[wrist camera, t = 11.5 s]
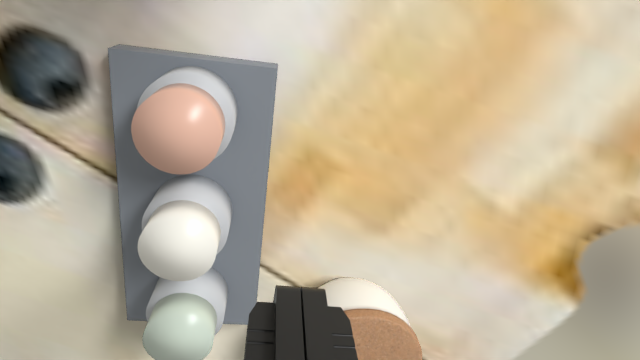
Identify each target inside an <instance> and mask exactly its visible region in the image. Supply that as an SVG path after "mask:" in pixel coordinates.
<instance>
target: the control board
mask: <svg viewBox="0 0 640 360" xmlns="http://www.w3.org/2000/svg"><path fill="white" fill-rule="evenodd" d="M108 55H109V69H110V83H111V97H112V111H113V125H114V139H115V153H116V167H117V181H118V195H119V209H120V223H121V237H122V251H123V265H124V279H125V293H126V307H127V320H136V321H147V322H148V321H149V318H150V316H151V313H152V311H153V308H154V306H155V305H156V304H157V303H158V301H160V300H161V299H162V298H164V297H166V296H168V295H171V294H176V293H190V294H195V295H198V296H200V297H202V298H204V299H206V300H207V301H208V302H209V303H210V304H211V305H212V306H213V307H214V309H215V311H216V314H217V324H216V329H215V334H216V333H217V332H218V331H219V330H220V328H221V327H222V324H246V325H248V319H249V313H250V312H251V311H252V309H253V308H254V306H255V305H256V301H257V290H258V279H259V268H260V257H261V246H262V235H263V223H264V212H265V201H266V190H267V179H268V168H269V157H270V146H271V135H272V124H273V113H274V102H275V90H276V79H277V67H278V64H275V63H266V62H258V61H250V60H242V59H234V58H226V57H217V56H209V55H201V54H193V53H185V52H177V51H168V50H160V49H152V48H144V47H136V46H128V45H116V46H113V47H110V48H108ZM176 83H185V84H191V85H194V86H197V87H199V88H201V89H203V90H205V91H206V92H208V93H209V94H210V95H211V96H212V97H213V98H214V99H215V100H216V101H217V102H218V104H219V105H220V107H221V109H222V111H223V114H224V118H225V133H224V137H223V139H222V142H221V145H220V147H219V150H218V152H217V154H216V156H215V158H214V159H213V160H212V162H211V163H210V164H209V165H207V166H206V167H205V168H203V169H201V170H199V171H197V172H194V173H190V174H183V175H181V174H171V173H167V172H164V171H161V170H159V169H157V168H155V167H154V166H152V165H151V164H149V163H148V162H147V161H146V160H145V159H144V158H143V157H142V156H141V155H140V153H139V152H138V150H137V149H136V147H135V144H134V142H133V138H132V133H131V124H132V119H133V116H134V114H135V112H136V110H137V109H138V107H139V106H140V105H141V104H142V103H143V102H144V101H145V100H146V99H147V98H149V97H150V96H151V95H152V94H153V93H155V92H156V91H157V90H159V89H160V88H162V87H164V86H167V85H170V84H176ZM175 200H188V201H193V202H196V203H199V204H201V205H203V206H205V207H206V208H208V209H209V210H210V211H211V212H212V213H213V214H214V215H215V217H216V218H217V220H218V222H219V225H220V229H221V236H220V241H219V245H218V249H217V254H216V258H215V261H214V263H213V265H212V267H211V268H210V269H209V270H208V271H207V272H206V273H205V274H203V275H202V276H200V277H198V278H196V279H193V280H189V281H171V280H167V279H164V278H161V277H159V276H157V275H155V274H154V273H152V272H151V271H150V270H148V269H147V268H146V267H145V265H144V264H143V263H142V261H141V259H140V257H139V254H138V240H139V237H140V235H141V233H142V231H143V230H144V228H145V226H146V224H147V223H148V221H149V219H150V217H151V216H152V214H153V213H154V211H155V210H156V209H157V208H158V207H160V206H161V205H163V204H165V203H168V202H170V201H175Z"/></svg>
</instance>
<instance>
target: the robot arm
mask: <svg viewBox="0 0 640 360" xmlns="http://www.w3.org/2000/svg"><path fill="white" fill-rule="evenodd" d="M244 360H358V357H357V352H356V349H355V342H354V337H353V332H352V327H351V322H350V319H349V318H348V317H347V315H346V314H345V312H344V311H343V310H342V308H341V307H332V306H328V304H327V297H326V291H325V289H321V288H307V287H301V289H300V287H291V286H277V285H276V288H275V294H274V301H273V303H267V302H257V303H256V305H255V306H254V308H253V309H252V311H251V312H250V313H249V319H248V328H247V337H246V346H245V355H244Z"/></svg>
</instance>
